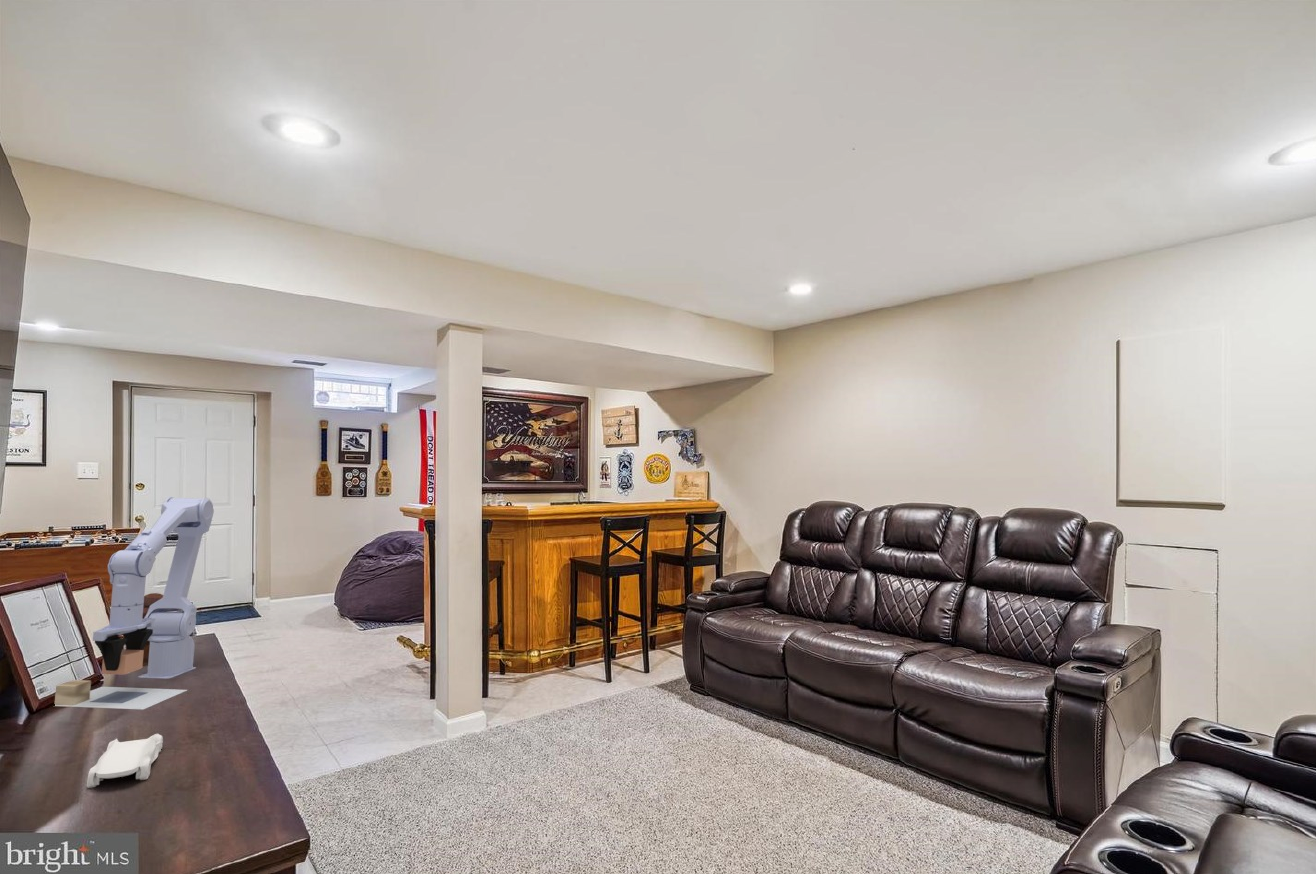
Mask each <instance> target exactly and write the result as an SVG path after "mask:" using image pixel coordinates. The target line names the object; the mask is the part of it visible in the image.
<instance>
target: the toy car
mask: <svg viewBox="0 0 1316 874" xmlns="http://www.w3.org/2000/svg"><path fill="white" fill-rule="evenodd" d="M163 737H164V736H163V735H161V734H159V733H155V734H153V735H151V736H149V737H148V738H143V739H136V740H135V739H134V740H127V741H121V742H120V741H119V740H118V738H115V739H114V740H111V741H110V742H109V743H108V745H107V748H106V751H105V752H103V754H102V755H101V756H100V757H99V758H98V760H97V763H96V764H95V765H94V766H92V767H91V768H90V769H89V770H88V775H87V781H86V788H88V789H92V788H96V787H97V786H99V785H100V782H101V781H104V779H115V778H116V779H117V778H120V777H121V778H123V777H127V776H131V775H133V774H135V780H139V781H142V780H143V781H144V780H147V779H149V777H150V775H151V766H152V764H153V763H154V761H156V760H157V758H158V757H159V754H160V753H161V752H162V750H163V744H164V738H163ZM161 749H162V750H161Z"/></svg>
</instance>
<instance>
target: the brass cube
mask: <svg viewBox="0 0 1316 874" xmlns="http://www.w3.org/2000/svg"><path fill="white" fill-rule="evenodd" d="M91 685H92V680H83V679H82V680H80V679H79V680H77V679H71V680H69V681H66V682H63V683H61V684H57V685H55V694H54V695H55V696H54V704H55V705H69V706H74V705H76V704H79V703H81V702H84V701H87V700H89V699H90V691H91V687H92V686H91Z"/></svg>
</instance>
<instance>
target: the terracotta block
mask: <svg viewBox="0 0 1316 874" xmlns="http://www.w3.org/2000/svg"><path fill="white" fill-rule="evenodd" d="M143 654H144V650H126V648H125V649H124V648H123V649H122V652H121V657H120V663H119V667H118V669H117V670H116V671H108V670H106V668H105V664H104V659H103V658H102V664H101V675H120V676H121V675H122V676H123V675H124V676H125V675H127V674H130V673H133V672H135V671H136V672H137V671H138V670H141V669H143V667H144V666H143ZM142 666H143V667H142Z"/></svg>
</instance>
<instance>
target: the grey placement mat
mask: <svg viewBox="0 0 1316 874" xmlns="http://www.w3.org/2000/svg"><path fill="white" fill-rule="evenodd" d="M187 691H188V689H178V688H177V689H173V688H171V689H170V688H148V687H145V688H143V687H126V686H125V687H119V686H100V687H98V688H95V689H92V690H91V689H90V699H89V700H87V701H84V702H81V703H79V704H76V705H74V706H69V705H55V706H54V707H67V708H68V707H69V708H71V707H72V708H90V709H91V708H92V709H93V708H95V709H97V708H99V709H120V710H145V709H148V708H151V707H153V706H155V705H157V704H160V703H161V702H164V701H166V700H169V699H170V698H174V697H177V695H180V694H182V693H184V692H187Z"/></svg>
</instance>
